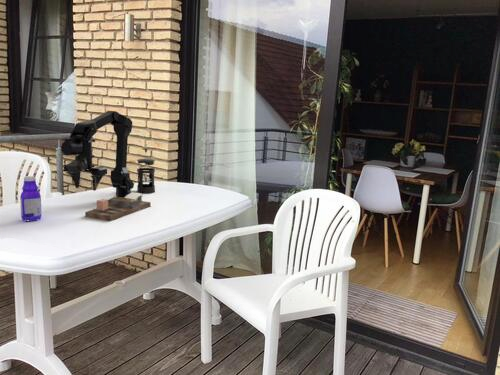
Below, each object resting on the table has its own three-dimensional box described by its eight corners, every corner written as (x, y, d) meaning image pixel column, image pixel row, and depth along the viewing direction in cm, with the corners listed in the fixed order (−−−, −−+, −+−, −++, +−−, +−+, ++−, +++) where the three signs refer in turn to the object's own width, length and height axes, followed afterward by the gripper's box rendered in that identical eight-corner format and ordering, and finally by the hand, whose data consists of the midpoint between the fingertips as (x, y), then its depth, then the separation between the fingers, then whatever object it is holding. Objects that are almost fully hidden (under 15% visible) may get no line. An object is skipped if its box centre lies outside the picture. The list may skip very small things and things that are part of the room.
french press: (148, 194, 232) (147, 150, 227) (132, 192, 235) (132, 148, 230) (160, 190, 243) (160, 147, 238) (145, 188, 246) (145, 146, 241)
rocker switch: (124, 200, 206) (123, 197, 205) (132, 194, 211) (131, 192, 210) (135, 201, 204) (134, 199, 203) (142, 196, 209) (142, 193, 208)
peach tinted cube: (96, 209, 191) (96, 200, 190) (102, 207, 194) (102, 198, 193) (102, 210, 190) (102, 201, 189) (108, 208, 193) (108, 199, 192)
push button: (110, 203, 201) (110, 198, 201) (116, 201, 205) (116, 196, 204) (131, 207, 197) (131, 201, 197) (136, 205, 201) (136, 199, 200)
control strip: (85, 216, 189) (84, 204, 187) (127, 202, 214) (127, 192, 213) (110, 221, 184) (110, 208, 183) (150, 206, 209) (150, 195, 208)
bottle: (38, 216, 186) (36, 175, 182) (43, 219, 182) (41, 177, 178) (19, 219, 180) (16, 176, 177) (24, 223, 177) (22, 179, 173)
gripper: (53, 153, 186) (54, 190, 190) (89, 157, 180) (90, 195, 183) (72, 150, 197) (73, 185, 200) (107, 154, 190) (108, 190, 193)
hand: (85, 189), depth 194 cm, fingers open, 9 cm apart
